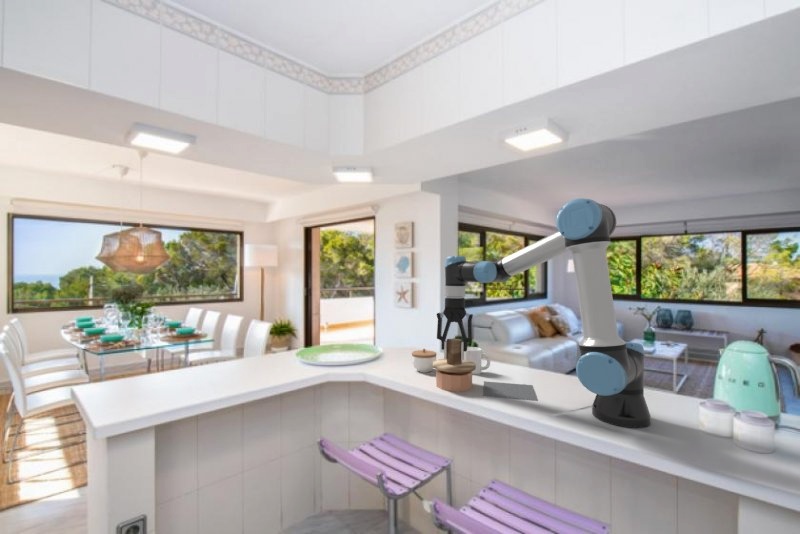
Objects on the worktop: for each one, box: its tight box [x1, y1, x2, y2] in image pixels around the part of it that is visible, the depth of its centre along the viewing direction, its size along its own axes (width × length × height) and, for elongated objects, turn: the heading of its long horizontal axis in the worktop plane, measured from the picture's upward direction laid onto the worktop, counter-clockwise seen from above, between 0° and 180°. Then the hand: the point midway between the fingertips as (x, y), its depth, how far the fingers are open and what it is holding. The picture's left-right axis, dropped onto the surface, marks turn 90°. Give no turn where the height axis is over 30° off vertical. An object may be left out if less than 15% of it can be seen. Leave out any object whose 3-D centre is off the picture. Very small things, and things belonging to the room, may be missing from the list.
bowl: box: [435, 369, 473, 392], centre depth 141 cm, size 13×13×6 cm
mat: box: [482, 380, 539, 402], centre depth 136 cm, size 18×18×1 cm
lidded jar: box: [411, 348, 437, 373], centre depth 164 cm, size 11×11×9 cm
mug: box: [464, 346, 491, 375], centre depth 161 cm, size 12×8×10 cm
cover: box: [433, 337, 476, 373], centre depth 141 cm, size 16×16×10 cm
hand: (454, 359), depth 141 cm, fingers closed on cover, 6 cm apart
